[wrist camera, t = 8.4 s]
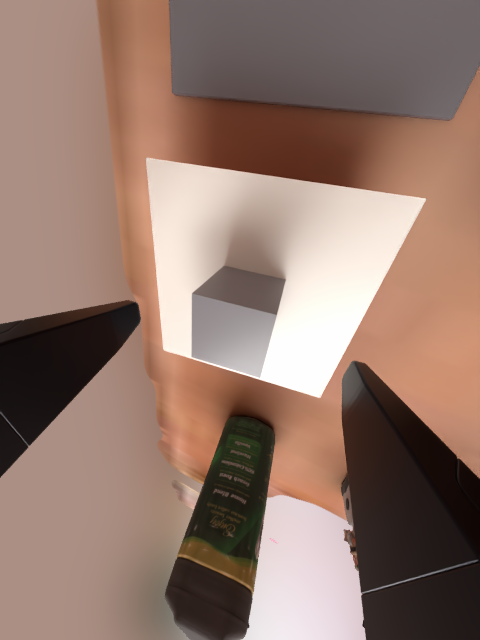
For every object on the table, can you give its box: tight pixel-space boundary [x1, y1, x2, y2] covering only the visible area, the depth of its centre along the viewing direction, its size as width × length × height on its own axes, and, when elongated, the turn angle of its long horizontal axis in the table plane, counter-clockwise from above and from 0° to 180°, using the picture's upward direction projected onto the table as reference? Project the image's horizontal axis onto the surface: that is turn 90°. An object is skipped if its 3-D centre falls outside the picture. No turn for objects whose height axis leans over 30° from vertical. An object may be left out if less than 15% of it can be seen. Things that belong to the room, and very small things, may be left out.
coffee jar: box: [165, 416, 275, 640], centre depth 25 cm, size 10×8×19 cm
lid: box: [146, 158, 426, 398], centre depth 13 cm, size 14×14×6 cm
